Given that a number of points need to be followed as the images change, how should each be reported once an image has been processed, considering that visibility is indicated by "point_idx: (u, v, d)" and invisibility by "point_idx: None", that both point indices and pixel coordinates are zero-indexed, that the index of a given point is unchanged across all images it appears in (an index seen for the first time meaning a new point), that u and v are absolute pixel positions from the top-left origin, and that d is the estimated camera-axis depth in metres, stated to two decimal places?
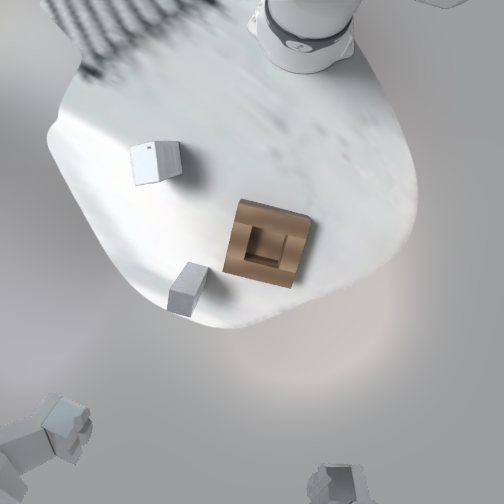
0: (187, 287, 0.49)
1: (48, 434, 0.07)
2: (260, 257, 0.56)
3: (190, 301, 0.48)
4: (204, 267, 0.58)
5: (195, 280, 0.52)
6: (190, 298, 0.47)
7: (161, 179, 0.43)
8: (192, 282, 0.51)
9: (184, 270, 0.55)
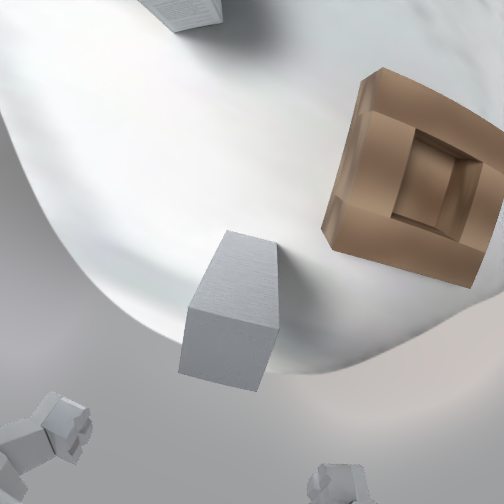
0: (245, 297, 0.15)
1: (48, 434, 0.07)
2: (404, 217, 0.22)
3: (262, 346, 0.14)
4: (268, 243, 0.24)
5: (261, 275, 0.18)
6: (263, 337, 0.13)
7: None
8: (256, 280, 0.17)
9: (222, 248, 0.21)
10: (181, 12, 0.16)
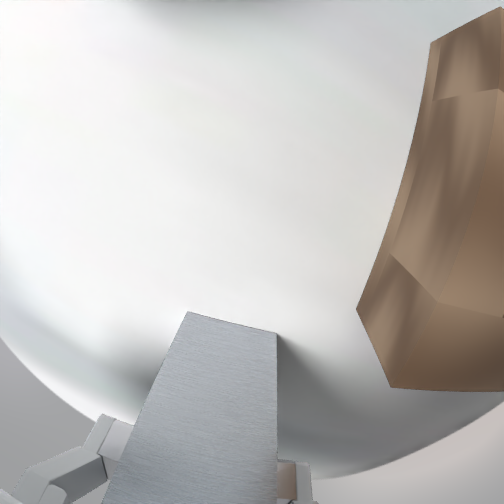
0: None
1: (105, 461, 0.07)
2: None
3: None
4: (261, 338, 0.13)
5: (242, 458, 0.07)
6: None
7: None
8: (228, 482, 0.06)
9: (168, 373, 0.09)
10: None
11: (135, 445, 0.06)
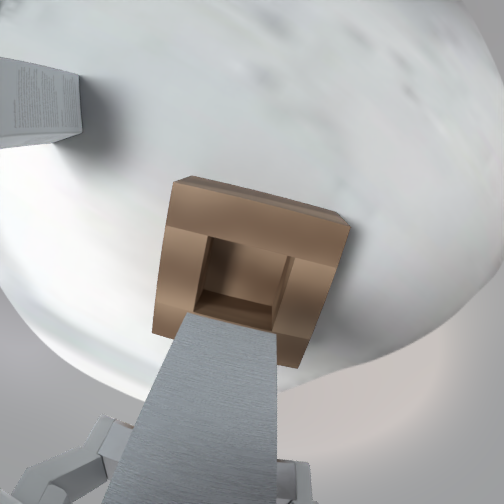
0: None
1: (105, 461, 0.07)
2: (234, 299, 0.26)
3: None
4: (261, 339, 0.13)
5: (242, 459, 0.07)
6: None
7: None
8: (228, 483, 0.06)
9: (168, 374, 0.09)
10: (40, 140, 0.20)
11: (135, 446, 0.06)
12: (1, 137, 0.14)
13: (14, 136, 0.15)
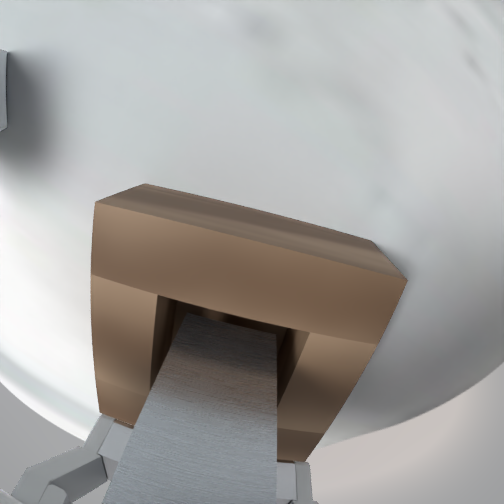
0: None
1: (105, 461, 0.07)
2: None
3: None
4: (260, 339, 0.13)
5: (242, 460, 0.07)
6: None
7: None
8: (228, 484, 0.06)
9: (168, 374, 0.09)
10: None
11: (135, 447, 0.06)
12: None
13: None
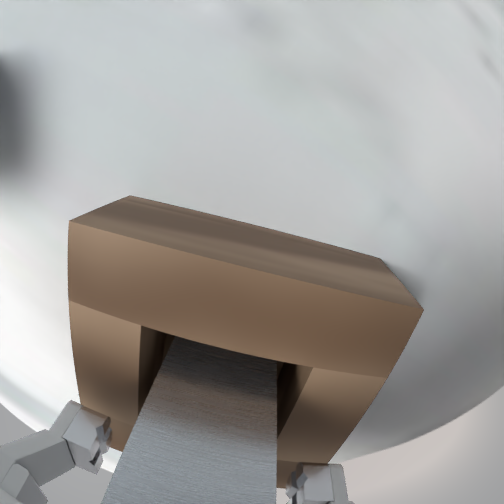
0: None
1: (69, 445, 0.07)
2: None
3: None
4: None
5: (244, 438, 0.08)
6: None
7: None
8: (231, 460, 0.07)
9: (174, 359, 0.10)
10: None
11: (143, 425, 0.07)
12: None
13: None
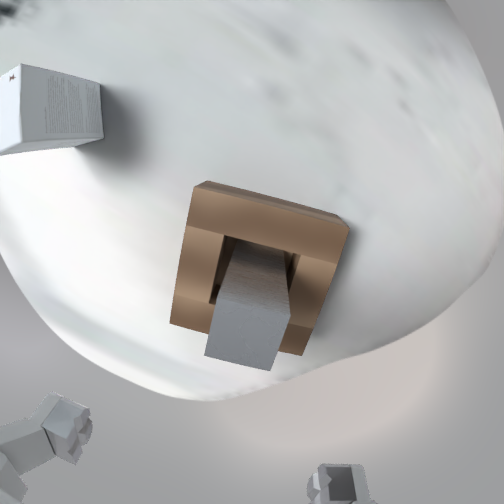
0: (261, 291, 0.18)
1: (48, 434, 0.07)
2: None
3: (276, 330, 0.17)
4: (275, 248, 0.27)
5: (272, 274, 0.21)
6: (277, 322, 0.17)
7: (29, 138, 0.16)
8: (268, 278, 0.21)
9: (237, 252, 0.24)
10: (65, 144, 0.23)
11: (231, 266, 0.21)
12: (34, 141, 0.17)
13: (45, 141, 0.18)
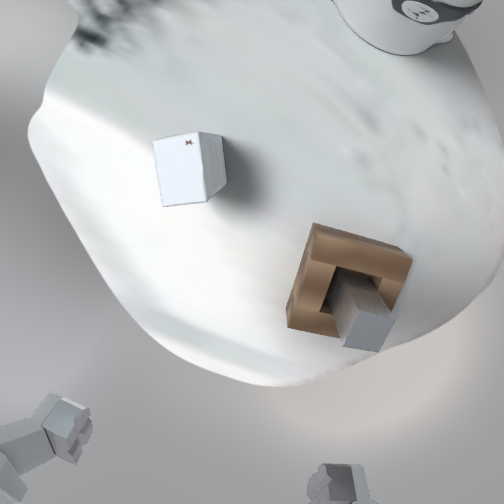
0: (374, 304, 0.29)
1: (48, 434, 0.07)
2: None
3: (386, 327, 0.27)
4: None
5: (371, 292, 0.32)
6: (387, 322, 0.27)
7: (208, 197, 0.26)
8: (371, 295, 0.31)
9: (344, 277, 0.34)
10: None
11: (349, 289, 0.31)
12: (209, 198, 0.27)
13: None
